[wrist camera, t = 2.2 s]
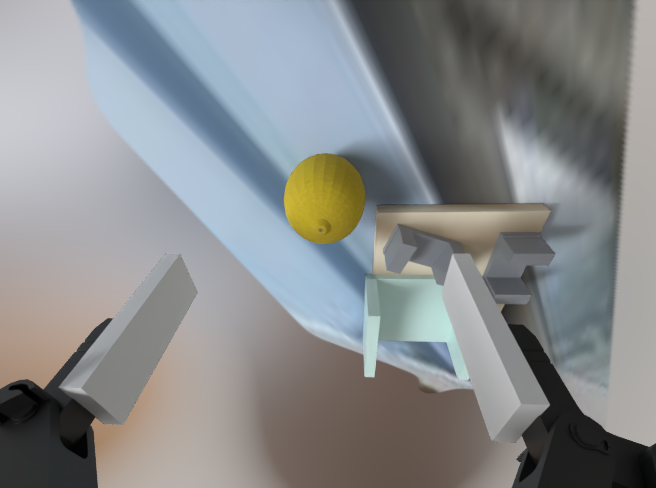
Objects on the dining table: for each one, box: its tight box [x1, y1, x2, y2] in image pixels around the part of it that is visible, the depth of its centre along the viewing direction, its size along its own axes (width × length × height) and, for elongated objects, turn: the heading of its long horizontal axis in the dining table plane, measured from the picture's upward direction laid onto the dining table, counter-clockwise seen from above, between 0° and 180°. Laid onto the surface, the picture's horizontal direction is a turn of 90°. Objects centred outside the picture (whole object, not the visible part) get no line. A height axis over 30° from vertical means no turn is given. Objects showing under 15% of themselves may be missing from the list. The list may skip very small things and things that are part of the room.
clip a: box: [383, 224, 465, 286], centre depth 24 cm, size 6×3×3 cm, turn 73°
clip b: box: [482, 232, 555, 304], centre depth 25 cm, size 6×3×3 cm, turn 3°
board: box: [372, 203, 551, 312], centre depth 29 cm, size 17×14×1 cm
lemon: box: [284, 153, 365, 244], centre depth 20 cm, size 6×6×8 cm
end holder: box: [363, 274, 469, 380], centre depth 29 cm, size 10×10×5 cm
